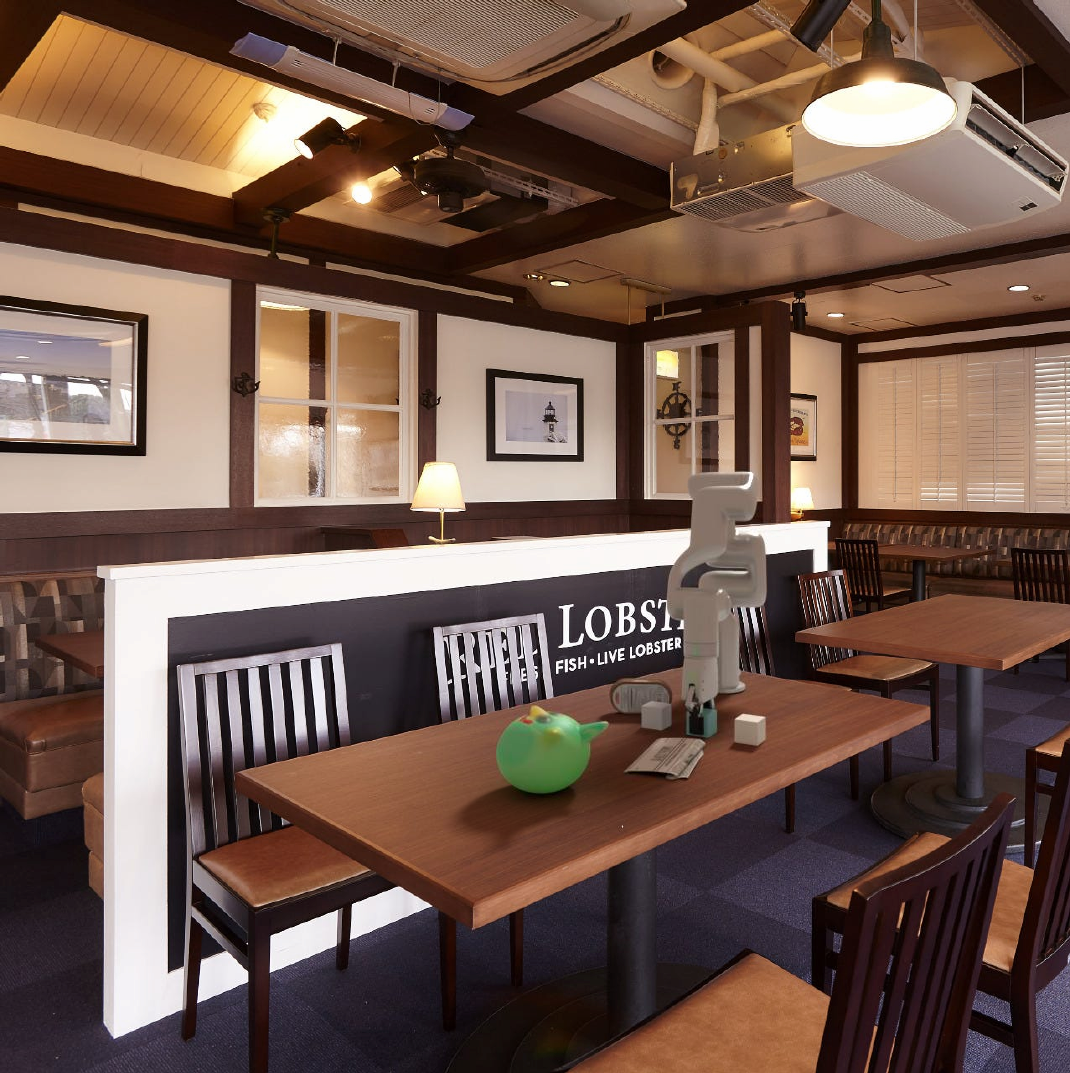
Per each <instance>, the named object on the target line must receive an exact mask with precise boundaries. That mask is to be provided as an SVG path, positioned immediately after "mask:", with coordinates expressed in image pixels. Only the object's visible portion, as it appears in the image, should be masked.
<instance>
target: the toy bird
mask: <svg viewBox="0 0 1070 1073" xmlns="http://www.w3.org/2000/svg"><path fill="white" fill-rule="evenodd" d="M609 725H610V724H609V722H608V721H598V722H591V723H586V724H580V723H579V722H577V721H576V720H575V719H574V718H572V717H571V716H568V715H566V714H564V713H560V712H555V711H546V710H544V709H543V708H541V707H539V706H538V705H531V707H530V709H529V713H527V714H525V715H523V716H520V717H518V718H516V719H515V720H514V721H512V722H511V723H510V724H509V725H508V726H507V727H506V728H505V729H504V731H503V733H502V734H501V735H500V737H499V739H498V742H497V745H496V751H495V759H496V763H497V767H498V769H499V771H500V774H501V775H502V776H503V777H504V779H505V780H506V781H507V782H508V783H509V784H510V785H512V786H513V787H515V788H517V789H518V790H521V791H524V792H526V793H532V794H551V793H555V792H558V791H562V790H564V789H566V788H567V787H570V786H571V785H572V784H574V782H576V781H577V780H578V779H579V778H580V777H581V776H582V775H583V773H584V772H585V770H586V768H587V766H588V764H589V762H590V761H589V760H590V756H591V741H592V740H594V739H595V738H597V736H599V735H601V734H602V733H603V732H604V731H605V730H607V729H608V727H609Z"/></svg>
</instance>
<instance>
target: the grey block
mask: <svg viewBox="0 0 1070 1073" xmlns="http://www.w3.org/2000/svg"><path fill="white" fill-rule="evenodd" d="M671 726H672V703H671V704H668V703H661V702H654V701H651V702H649V703H646V704H644V705H642V714H641V728H643V729H648V730H649V729H650V730H656V731H664V730H665V729H667V728H669V727H671Z"/></svg>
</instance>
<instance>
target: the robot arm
mask: <svg viewBox="0 0 1070 1073" xmlns="http://www.w3.org/2000/svg"><path fill="white" fill-rule="evenodd" d="M759 485H760V484H759V480H758V477H757V476H756V474H755V473H753V472H750V471H725V472H724V471H715V472H714V471H712V472H711V471H710V472H708V471H707V472H699V473H695V474H692V475H691V476H690V477H689V478H688V479H687V490H688V494H689V496H690V498H691V500H692V506H691V508H692V509H691V521H690V523H691V524H690V539H689V540H690V541H689V546H688V547H687V548H686V549H685V551H683V552H682V553H681V554H680V556H679V557H678V558H677V559H676V560H675V562H674V563H673V565H672V567H671V569H670V572H669V575H668V580H667V581H668V582H667V593H666V611H667V613H668V615H669V617H670V618H672V619H673V620H676V621H683V657H684V659H683V666H682V676H681V678H682V679H681V700H682V702H684V703H685V704H684V706H685V707H686V709H687V712H688V716H689V733H690V734H695V735H703V734H704V717H702V710H703V708H706V709H713V710H715V708H716V707H715V701H716V696H717V695H718V694H735V693H740V692H742V691H744V690H745V689H746V684H745V683H744V682H742V681H740V675H742V671H741V670H742V669H740V633H739V632H740V626H739V621H738V619H737V617H736V616H735V615H734V613H733V612H732V608H759V607H762V606H763V605H764V604H765V602H766V599H767V592H768V590H767V584H768V583H767V554H766V542H765V539H764V538H763V536H762V535H761V534H760V533H758V532H755V531H737V530H736V522H748V521H751V520H752V519H753V517H754V516H755V514H756V510H757V505H758V499H759V493H760V486H759ZM704 563H705V564H706V565H707V566H708V567H711V568H721V569H723V568H725V569H746V570H712V571H711V570H710V571H707V572H705V573H703V574H702V575H701V576H700V577H699V581H698V587H681V584H682V581H683V579H684V577H685V576H686V574H688V573H689V572H690V571H691V570H693V569H694V568H696V567H698V566H700V565H702V564H704ZM695 700H697V701H695ZM697 707H698V709H697Z"/></svg>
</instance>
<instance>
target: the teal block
mask: <svg viewBox="0 0 1070 1073" xmlns="http://www.w3.org/2000/svg"><path fill="white" fill-rule="evenodd" d="M696 707H697V709H698V707H699V706H696ZM685 713H686V735H689V736H694V737H700V738H701V737H702V738H706V739H707V738H710V737H712V736H713V735H715V734H717V732H718V710H717V709H714V710H713V709H706V708H703V710H702V717H704V734H703V735H695V734H690V733H689V716H688V711H686V712H685Z"/></svg>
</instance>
